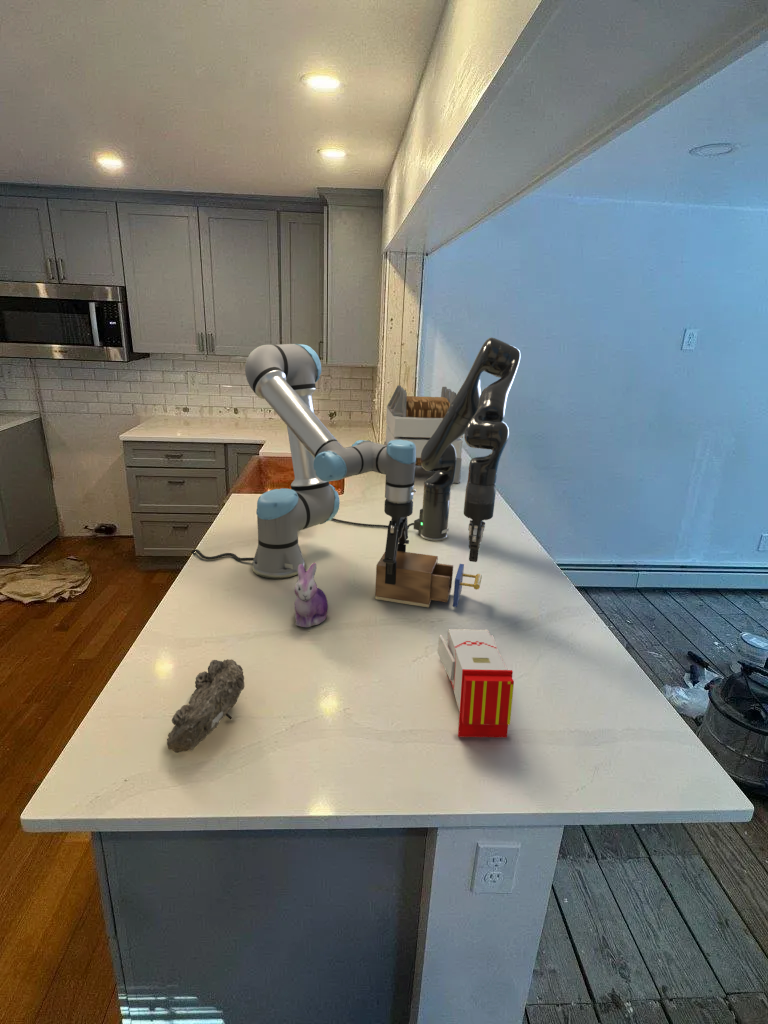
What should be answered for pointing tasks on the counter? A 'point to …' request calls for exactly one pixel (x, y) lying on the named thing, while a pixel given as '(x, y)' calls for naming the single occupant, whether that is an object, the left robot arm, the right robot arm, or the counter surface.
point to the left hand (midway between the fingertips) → (395, 574)
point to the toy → (478, 682)
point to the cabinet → (407, 579)
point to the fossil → (206, 705)
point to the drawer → (449, 583)
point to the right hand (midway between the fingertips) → (473, 560)
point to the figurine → (309, 599)
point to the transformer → (419, 421)
